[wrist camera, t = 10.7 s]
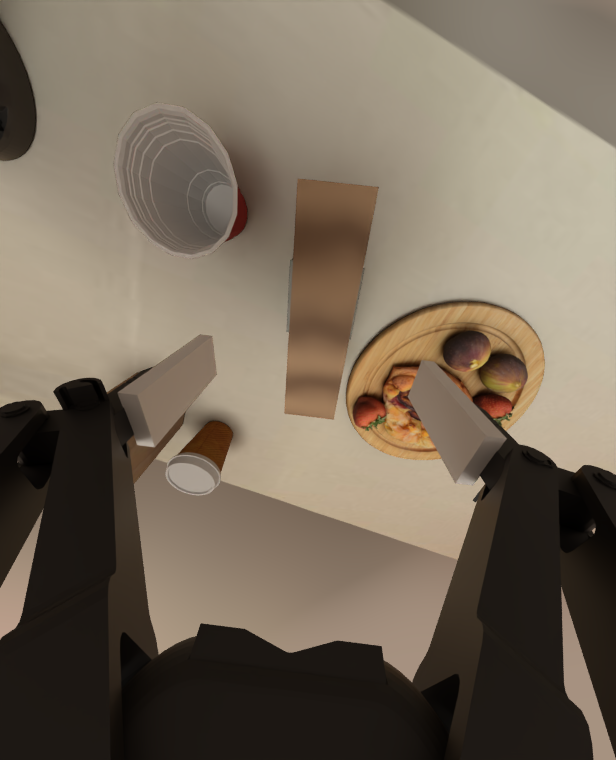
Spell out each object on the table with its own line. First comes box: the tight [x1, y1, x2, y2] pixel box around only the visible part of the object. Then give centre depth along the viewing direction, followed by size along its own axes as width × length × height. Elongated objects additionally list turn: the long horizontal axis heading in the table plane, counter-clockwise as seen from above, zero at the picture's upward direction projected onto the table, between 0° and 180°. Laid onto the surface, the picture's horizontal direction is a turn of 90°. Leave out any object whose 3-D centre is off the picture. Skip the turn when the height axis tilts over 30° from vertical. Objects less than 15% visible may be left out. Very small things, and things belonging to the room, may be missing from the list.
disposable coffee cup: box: [166, 421, 233, 495], centre depth 45 cm, size 10×10×12 cm
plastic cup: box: [114, 102, 247, 259], centre depth 25 cm, size 11×11×12 cm
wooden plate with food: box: [346, 302, 545, 460], centre depth 38 cm, size 32×32×8 cm
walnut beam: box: [284, 179, 379, 419], centre depth 26 cm, size 22×6×8 cm, turn 175°
